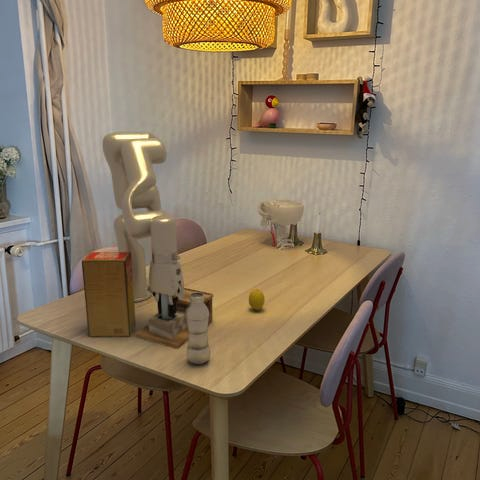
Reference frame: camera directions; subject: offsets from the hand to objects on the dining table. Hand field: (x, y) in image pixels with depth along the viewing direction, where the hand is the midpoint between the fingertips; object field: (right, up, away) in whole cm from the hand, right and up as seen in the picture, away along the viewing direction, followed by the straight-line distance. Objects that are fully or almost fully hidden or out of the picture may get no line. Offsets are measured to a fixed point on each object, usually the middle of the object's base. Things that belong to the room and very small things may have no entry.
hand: (167, 313), depth 142 cm
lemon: (+28, -2, +20) cm, 34 cm away
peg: (0, -3, +1) cm, 3 cm away
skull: (+42, +19, +94) cm, 105 cm away
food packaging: (-18, -6, +5) cm, 20 cm away
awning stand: (+2, -6, +6) cm, 8 cm away
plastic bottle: (+11, -11, -13) cm, 20 cm away
